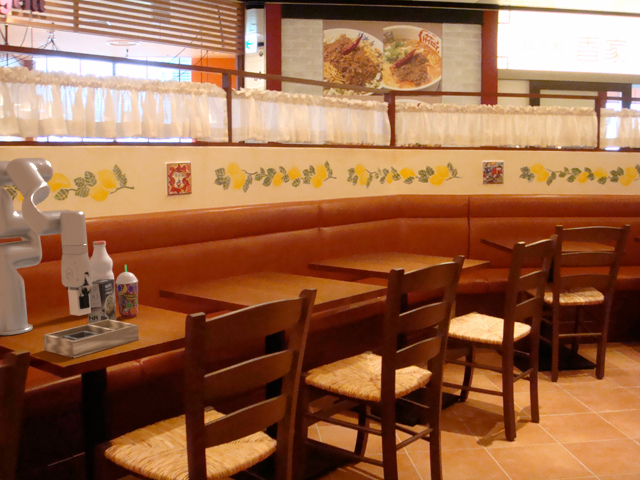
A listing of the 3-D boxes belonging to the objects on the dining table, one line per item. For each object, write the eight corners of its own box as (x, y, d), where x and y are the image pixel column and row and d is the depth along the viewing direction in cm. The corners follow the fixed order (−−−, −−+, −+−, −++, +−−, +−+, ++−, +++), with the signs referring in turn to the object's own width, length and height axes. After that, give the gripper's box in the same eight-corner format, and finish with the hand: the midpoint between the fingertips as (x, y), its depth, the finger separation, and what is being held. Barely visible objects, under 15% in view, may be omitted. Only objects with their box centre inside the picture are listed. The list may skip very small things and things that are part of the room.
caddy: (44, 350, 210) (43, 334, 209) (108, 333, 229) (107, 319, 229) (74, 358, 201) (73, 341, 200) (138, 339, 220) (137, 324, 219)
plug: (70, 314, 210) (67, 286, 209) (82, 311, 213) (80, 283, 212) (78, 315, 207) (76, 287, 206) (91, 312, 211) (88, 284, 210)
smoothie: (128, 319, 248) (124, 267, 246) (112, 317, 253) (109, 265, 250) (144, 315, 255) (141, 263, 253) (129, 313, 260) (126, 262, 257)
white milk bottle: (96, 308, 270) (92, 240, 266) (119, 308, 269) (115, 239, 266) (87, 313, 260) (82, 243, 257) (111, 313, 260) (106, 242, 257)
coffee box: (104, 327, 237) (101, 283, 235) (88, 327, 239) (85, 283, 237) (117, 321, 246) (114, 278, 244) (101, 321, 248) (98, 278, 246)
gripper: (49, 250, 210) (53, 307, 212) (80, 252, 200) (85, 312, 202) (70, 247, 216) (74, 303, 218) (101, 249, 206) (106, 307, 208)
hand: (79, 307), depth 210 cm, fingers closed on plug, 4 cm apart
